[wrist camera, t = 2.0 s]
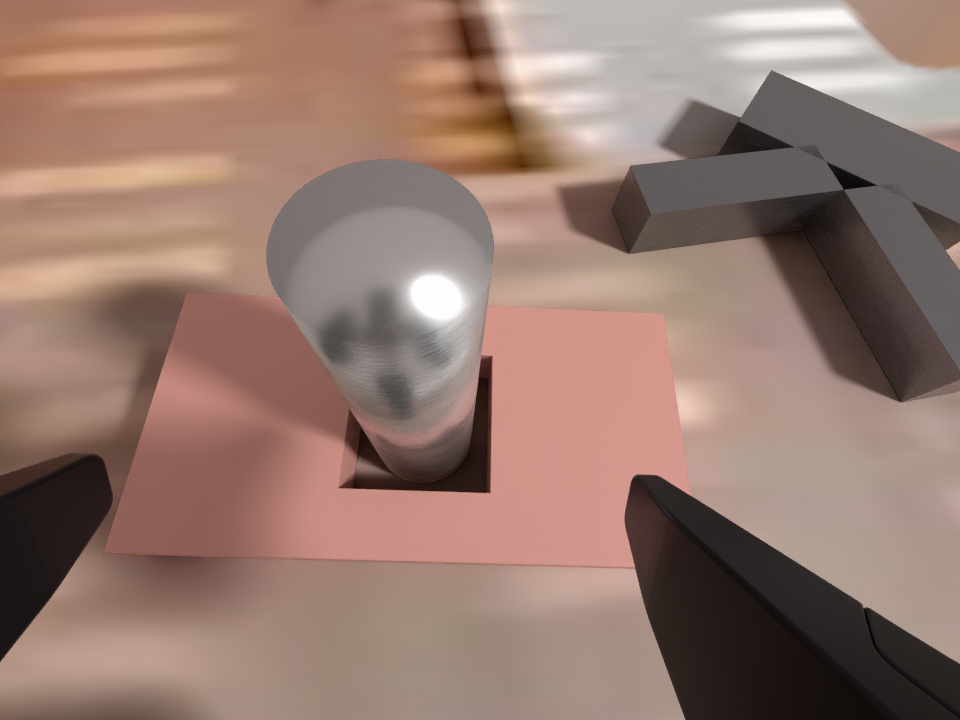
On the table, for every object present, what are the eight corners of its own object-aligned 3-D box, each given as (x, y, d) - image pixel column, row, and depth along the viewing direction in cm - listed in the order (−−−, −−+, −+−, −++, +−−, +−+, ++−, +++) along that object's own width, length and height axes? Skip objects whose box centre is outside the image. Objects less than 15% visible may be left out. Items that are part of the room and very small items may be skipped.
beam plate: (642, 340, 23) (663, 314, 21) (671, 569, 19) (702, 569, 16) (214, 321, 22) (186, 292, 20) (147, 555, 18) (103, 552, 16)
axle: (446, 499, 19) (435, 380, 8) (359, 458, 20) (218, 288, 8) (485, 412, 21) (526, 202, 9) (403, 377, 21) (340, 133, 10)
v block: (948, 428, 22) (1019, 406, 19) (593, 234, 25) (610, 192, 22) (997, 234, 27) (1060, 196, 24) (694, 95, 30) (718, 47, 27)
